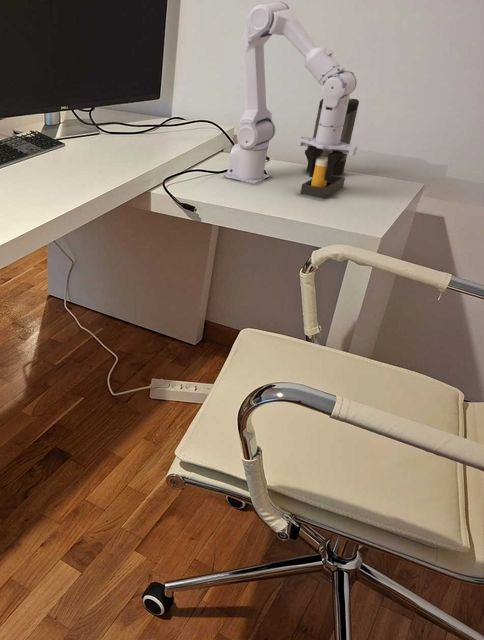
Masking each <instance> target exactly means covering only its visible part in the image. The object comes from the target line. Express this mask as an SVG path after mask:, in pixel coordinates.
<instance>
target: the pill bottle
mask: <svg viewBox="0 0 484 640" xmlns="http://www.w3.org/2000/svg"><path fill="white" fill-rule="evenodd" d="M327 164H328V157H317V158H316V162H315V168H314V173H313V177H311V179H312V183H311V186H316V187H320V188H325V187H326V183H327V181H326V180H325V175H326V170H327Z"/></svg>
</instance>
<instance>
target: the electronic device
mask: <svg viewBox="0 0 484 640" xmlns="http://www.w3.org/2000/svg"><path fill="white" fill-rule="evenodd" d="M359 104H360V101H359V99H357V98H350V97H349V102H348V107H347V111H346V116H345V121H344V125H343V130H342V134H341V139H340V142H343V143H347V144H350V145H351V141H352V136H353V131H354V127H355V123H356V117H357V114H358V109H359ZM322 105H323V98H321V100H320V101H319V104H318V110H317V115H316V119H315V124H314V129H313V135H312V138H316V135H317V130H318V125H319V120H320V115H321V110H322ZM332 152H333V151H328V150H322V152H321V155H320V157H328V154H330V153H332ZM347 158H348V154H345V156H344V157H343V158H342V160H341V161H340V162H339V164H338V165H337V167H336V169H335V170H334V172H333V175H334V176H339V177H343V174H344V171H345V168H346V162H347ZM306 173H307V174H309V165H308V164H307V168H306Z"/></svg>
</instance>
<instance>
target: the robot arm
mask: <svg viewBox="0 0 484 640" xmlns="http://www.w3.org/2000/svg"><path fill="white" fill-rule="evenodd" d="M273 35H277V36H279V35H280V36H284V38H286V39H287V40H288V41H289V42H290V44H291V45H292V46H293V47H294V48H295V49H296V50H297V51H298V52H299V53H300V54H301V55H302V56H303V57H304V67H305V68H306V69H307V71H308V72H309V73H310V74H311V75H312V76H313V78H314V79H315V81H316V82H318V84H319V85H320V93H321V96H322V97H323V98H322V99H323V105H322V110H321V115H320V120H319V125H318V130H317V135H316V138H313V137H309V136H300V137H298V138H297V142H296V146H297V147H307V148H306V149H305V150H304V155H305V157H306V160H307V166H308V165H309V173H308V177H309V178H313V173H314V168H315V162H316V158H317V157H320V155H321V152H322V150H328V151H333V152H332V153H330V154H328V164H327V170H326V175H325V180H326V181H328V180H330V179H331V177H332V175H333V172H334V170H335V169H336V167H337V165H338V164H339V162H340V161H341V160H342V158H343V157H344V156H345V154H347V155H348V156H352V157H353V156H356V155H357V152H358V147H359V146H357V145H353V144H351V143H350V144H347V143H343V142H340V139H341V134H342V130H343V125H344V121H345V116H346V111H347V107H348V102H349V98H350V97H351V96H350V94H352V93H354V91H355V89H356V88H357V84H358V82H357V77H356V76H355V74H354V73H355V72H353V71H351V70H348V69H347V70H346V68H345V66H344V65H343V64H342V65H341V64H340V63H339V62H338V60H337V59H336V58H335V57H334V56H333V55H332V54H334V52H333V50H331V49H330V48H329V49H327V47H318V46H317V44H316V43H315V42H314V40H313V39H312V37H311V36H310V35H309V33H308V32H307V31H306V29H305V27H304V26H303V25H302V23H301V22H300V21H299V19H298V17H297V14H296V12H295V11H294V10H293V9H292V8H290V6H289V4H288V3H287V2H286V1H283V0H279V1H278V0H277V1H276V2H275V1H274V2H270V3H266V4H258V5H256V6H254V7H253V8H252V10H251V11H250V12H249V13H248V14H247V16H246V17H245V27H244V30H243V33H242V37H241V40H240V49H241V50H240V51H241V67H242V84H243V85H242V86H243V103H244V113H243V114H242V116H241V117H240V119H239V121H238V124H239V126H238V130H237V133H236V140H237V143H235V144H234V145H233V146H232V147H231V149H230V152H229V155H228V156H229V157H228V164H227V170H226V171H227V172H226V175H225V178H228V179H232V180H236V181H241V182H247V183H251V184H257V183H259V182H261V181H263V180H266V179H268V178H269V177H270V175H269V174H267V173H265V168H266V162H267V155H268V149H269V145H270V141H271V140H272V139H273V138H274V136H275V135H276V125H275V123H274V121H273V117H272V115H273V114H272V112H271V111H270V110H269V109H268V107H267V92H266V91H267V90H266V69H265V47H264V46H265V44H266V43H267V42H268V40H270V39H271V36H273Z"/></svg>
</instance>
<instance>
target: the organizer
mask: <svg viewBox="0 0 484 640" xmlns="http://www.w3.org/2000/svg"><path fill="white" fill-rule="evenodd" d="M345 181H346V177H343V176H340V177H339V176H334V175H332V177H331V179H330V180H328V181H327V183H326V187H325V188H320V187H316V186H311V183H312V178H311V179H309V180H307V181H305V182H303V183H302V184H301V188H300V195H304V196H307V197H314V198H318V199H322V200H324V199H325V198H327V197H328V196H330V195H332V194H333V193H335V192H337V191H339V190H340V189H342V188H344V185H345Z"/></svg>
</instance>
